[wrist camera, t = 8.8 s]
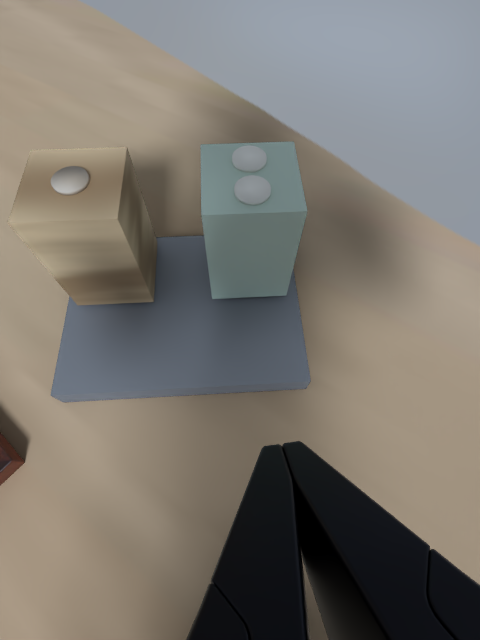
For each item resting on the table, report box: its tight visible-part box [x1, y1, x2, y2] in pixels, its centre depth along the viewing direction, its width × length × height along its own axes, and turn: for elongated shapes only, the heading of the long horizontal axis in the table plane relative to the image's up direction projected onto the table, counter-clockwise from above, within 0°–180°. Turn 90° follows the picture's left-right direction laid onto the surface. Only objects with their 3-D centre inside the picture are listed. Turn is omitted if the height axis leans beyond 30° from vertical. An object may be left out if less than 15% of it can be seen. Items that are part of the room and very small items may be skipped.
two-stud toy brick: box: [201, 142, 307, 299], centre depth 19 cm, size 4×4×7 cm
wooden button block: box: [8, 147, 157, 305], centre depth 18 cm, size 4×4×7 cm
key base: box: [51, 236, 311, 402], centre depth 22 cm, size 10×14×2 cm
